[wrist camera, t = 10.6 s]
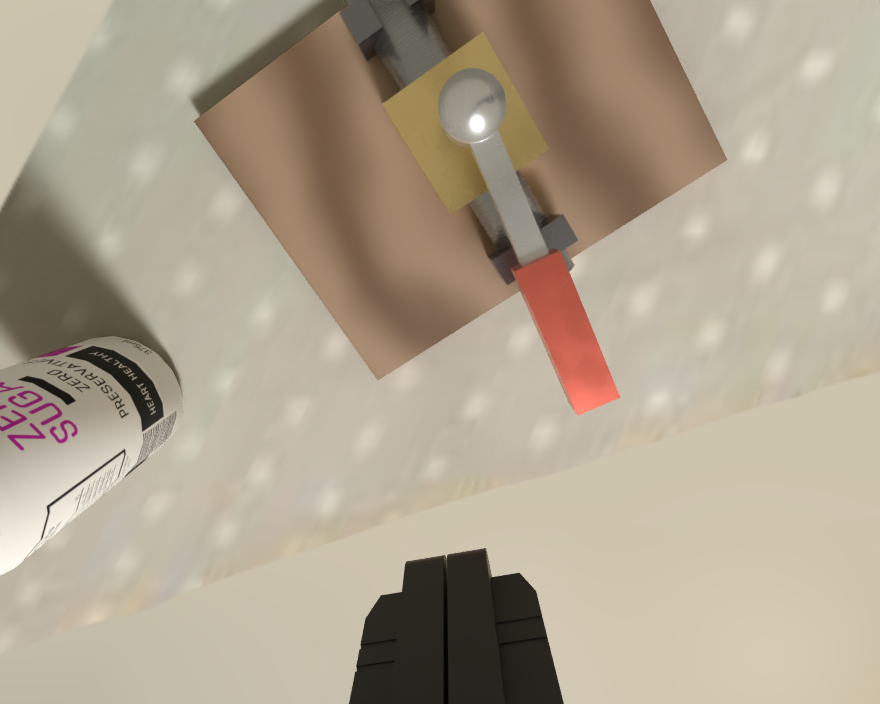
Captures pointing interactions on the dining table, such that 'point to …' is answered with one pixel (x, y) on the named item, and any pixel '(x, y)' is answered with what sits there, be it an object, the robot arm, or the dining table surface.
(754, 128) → the dining table surface
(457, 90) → the valve lever
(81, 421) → the supplement can
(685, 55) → the dining table surface
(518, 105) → the pipe valve
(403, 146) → the valve board
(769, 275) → the dining table surface
